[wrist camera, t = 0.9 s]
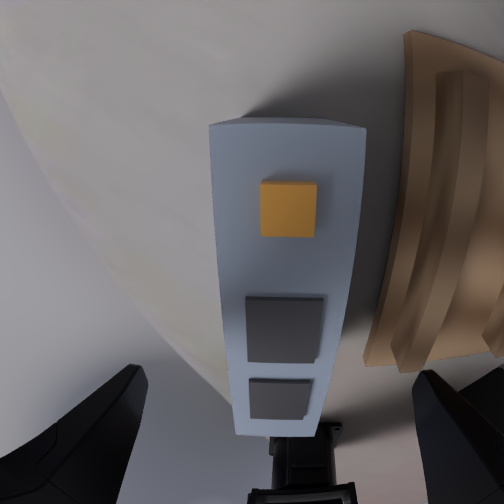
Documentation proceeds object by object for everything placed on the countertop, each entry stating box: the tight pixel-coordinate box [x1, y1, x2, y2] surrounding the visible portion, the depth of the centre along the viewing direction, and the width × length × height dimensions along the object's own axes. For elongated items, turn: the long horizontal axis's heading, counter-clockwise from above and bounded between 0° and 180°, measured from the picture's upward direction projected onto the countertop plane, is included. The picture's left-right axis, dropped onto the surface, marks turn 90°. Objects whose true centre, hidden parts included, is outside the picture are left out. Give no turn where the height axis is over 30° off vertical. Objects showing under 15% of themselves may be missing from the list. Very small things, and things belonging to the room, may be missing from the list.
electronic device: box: [458, 368, 504, 435], centre depth 18 cm, size 4×10×10 cm, turn 126°
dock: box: [363, 30, 504, 373], centre depth 13 cm, size 20×12×4 cm, turn 1°
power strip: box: [209, 117, 367, 437], centre depth 13 cm, size 14×4×7 cm, turn 1°
